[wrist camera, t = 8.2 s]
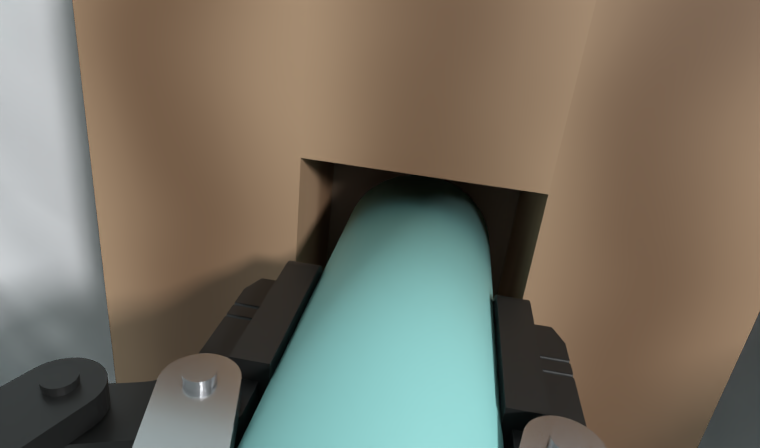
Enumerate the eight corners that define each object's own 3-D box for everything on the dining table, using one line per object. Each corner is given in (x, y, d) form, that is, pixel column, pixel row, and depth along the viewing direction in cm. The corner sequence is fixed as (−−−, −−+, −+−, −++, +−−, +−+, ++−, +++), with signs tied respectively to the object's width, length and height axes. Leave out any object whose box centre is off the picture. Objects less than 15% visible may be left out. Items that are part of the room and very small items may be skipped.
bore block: (778, -36, 14) (919, -39, 10) (607, 436, 21) (644, 563, 17) (175, -102, 16) (57, -130, 11) (194, 361, 23) (124, 459, 18)
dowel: (501, 186, 15) (584, 752, 4) (475, 313, 17) (484, 954, 6) (352, 164, 15) (71, 632, 5) (341, 291, 17) (116, 854, 6)
